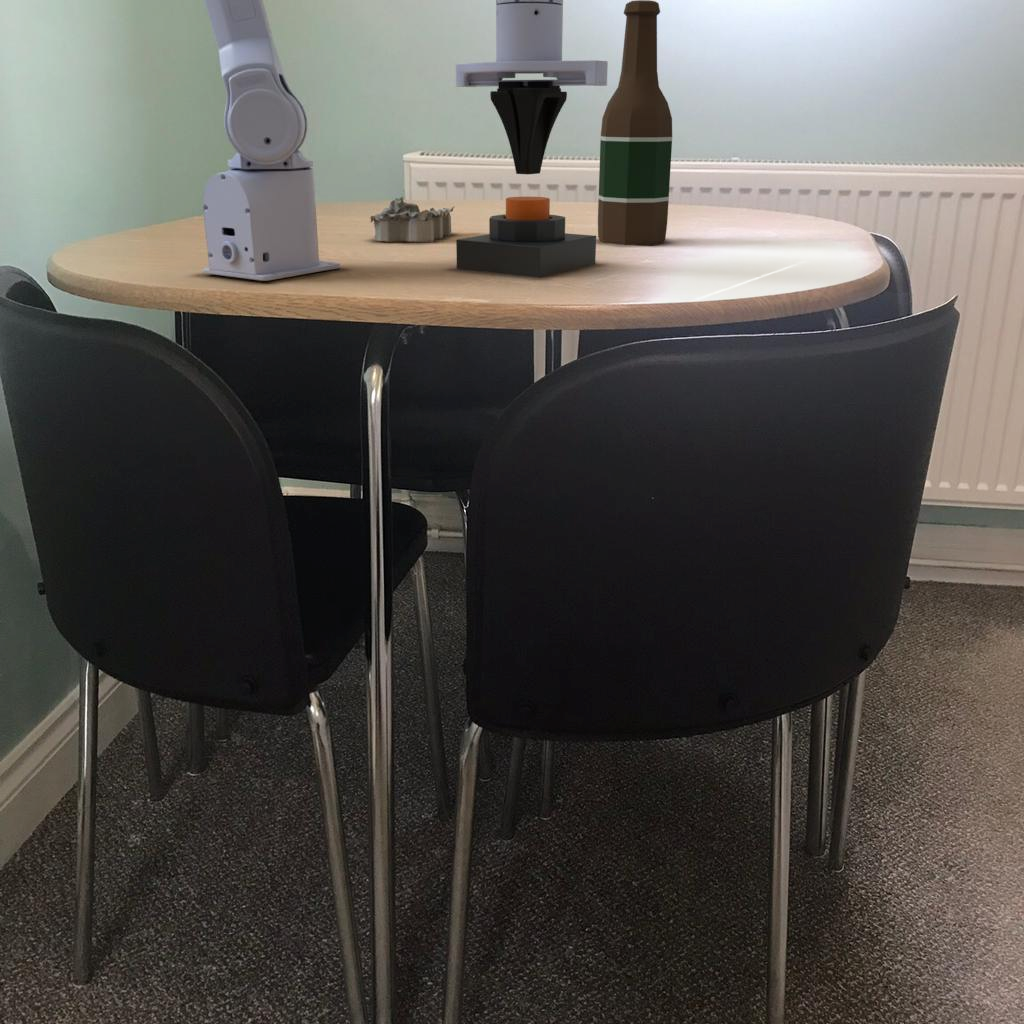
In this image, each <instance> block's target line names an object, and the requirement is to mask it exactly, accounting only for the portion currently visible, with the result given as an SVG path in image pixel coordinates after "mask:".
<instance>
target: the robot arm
mask: <svg viewBox="0 0 1024 1024" xmlns="http://www.w3.org/2000/svg"><path fill="white" fill-rule="evenodd" d="M203 1H204V5H205V8H206V13H207V16H208V19H209V22H210V26H211V29H212V32H213V36H214V40H215V43H216V47H217V50H218V56H219V66H220V74H221V79H222V82H223V86H224V91H225V96H226V103H225V108H224V114H223V126H224V127H223V128H224V131H225V136H226V138H227V140H228V142H229V143H230V146H231V147H232V148H233V149H234V151H235V152H236V153H235V154H234V156H233V157H232V158H229V159H227V167H229V168H228V169H227V170H226V171H222V172H221V171H220V172H218V173H215V174H213V175H212V176H211V177H210V178H209V179H208V180H207V181H206V184H205V186H204V190H203V194H202V212H203V222H204V230H205V231H204V232H205V241H206V249H207V258H208V259H207V260H208V266H207V267H204V268H203V273H204V274H208V275H216V276H224V277H229V278H230V277H232V278H239V279H246V280H254V281H262V282H268V281H274V280H280V279H285V278H290V277H297V276H302V275H307V274H313V273H319V272H325V271H330V270H336V269H340V268H341V263H340V262H334V261H325V260H320V251H319V237H318V234H319V233H318V222H317V221H318V219H317V207H316V206H317V205H316V204H317V203H316V192H315V176H314V175H315V174H314V168H312V167H313V166H314V162H313V160H310V159H308V158H307V157H305V155H304V154H303V152H302V151H301V150H299V149H300V148H301V147H302V146H303V144H304V142H305V140H306V137H307V133H308V125H309V124H308V117H307V113H306V111H305V108H304V106H303V104H302V103H301V101H300V100H299V99H298V98H297V96H296V95H295V94H294V93H293V91H292V90H291V89H290V87H289V85H288V83H287V80H286V76H285V72H284V69H283V66H282V63H281V60H280V57H279V53H278V51H277V48H276V45H275V41H274V38H273V34H272V31H271V26H270V23H269V19H268V15H267V11H266V7H265V3H264V0H203ZM495 4H496V6H495V29H496V30H495V51H496V53H495V56H496V57H495V58H496V59H495V61H487V62H486V61H485V62H468V63H467V62H466V63H455V87H456V88H477V87H481V88H482V87H496V88H497V89H496V90H491V91H490V93H489V96H490V102H491V103H492V105H493V106H494V108H495V110H496V112H497V114H498V116H499V119H500V120H501V123H502V125H503V128H504V131H505V134H506V137H507V140H508V143H509V147H510V150H511V155H512V159H513V160H512V161H513V165H514V169H515V174H516V175H538V174H541V171H542V170H541V169H542V166H543V161H544V156H545V152H546V149H547V146H548V142H549V138H550V136H551V134H552V131H553V127H554V126H555V122H556V121H557V118H558V117H559V114H560V112H561V111H562V108H563V107H564V105H565V103H566V101H567V98H568V92H567V91H562V88H561V87H567V86H569V87H570V86H572V87H573V86H574V87H575V86H576V87H577V86H584V87H585V86H589V87H590V86H594V87H604V86H605V87H607V86H608V67H609V66H608V65H609V64H608V63H609V62H608V60H597V59H595V60H592V59H591V60H563V32H564V31H563V26H564V25H563V24H564V23H563V22H564V0H495ZM516 74H517V75H518V74H520V75H521V74H522V75H525V74H526V75H527V74H529V75H531V74H532V75H533V74H541V75H542V77H543V78H556V79H515V78H516Z"/></svg>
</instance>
